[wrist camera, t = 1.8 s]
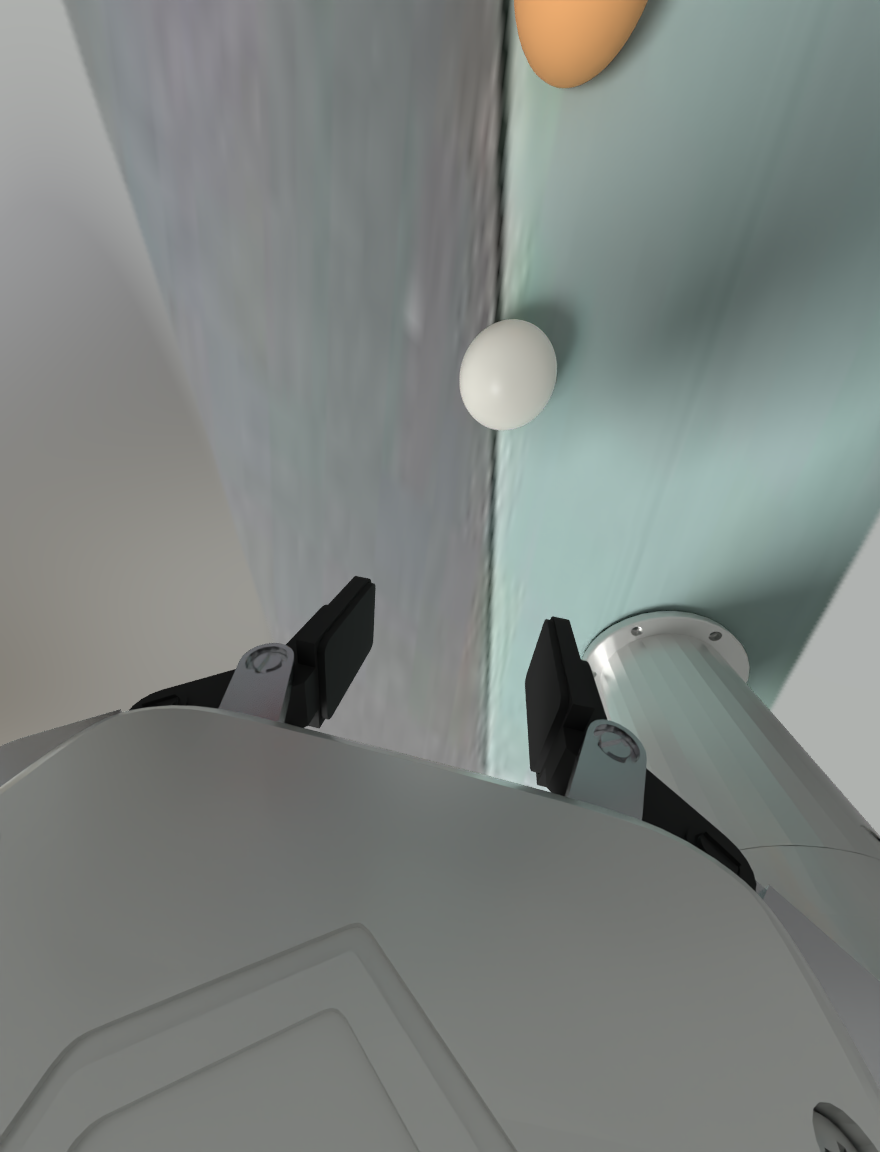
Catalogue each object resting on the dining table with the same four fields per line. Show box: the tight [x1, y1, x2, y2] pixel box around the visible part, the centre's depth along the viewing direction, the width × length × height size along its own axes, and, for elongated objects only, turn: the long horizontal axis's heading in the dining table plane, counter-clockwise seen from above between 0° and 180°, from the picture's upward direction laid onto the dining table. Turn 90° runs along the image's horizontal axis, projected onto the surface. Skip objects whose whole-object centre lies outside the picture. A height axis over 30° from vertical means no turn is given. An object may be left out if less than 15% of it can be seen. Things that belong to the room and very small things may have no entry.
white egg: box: [460, 319, 557, 430], centre depth 19 cm, size 6×6×6 cm
